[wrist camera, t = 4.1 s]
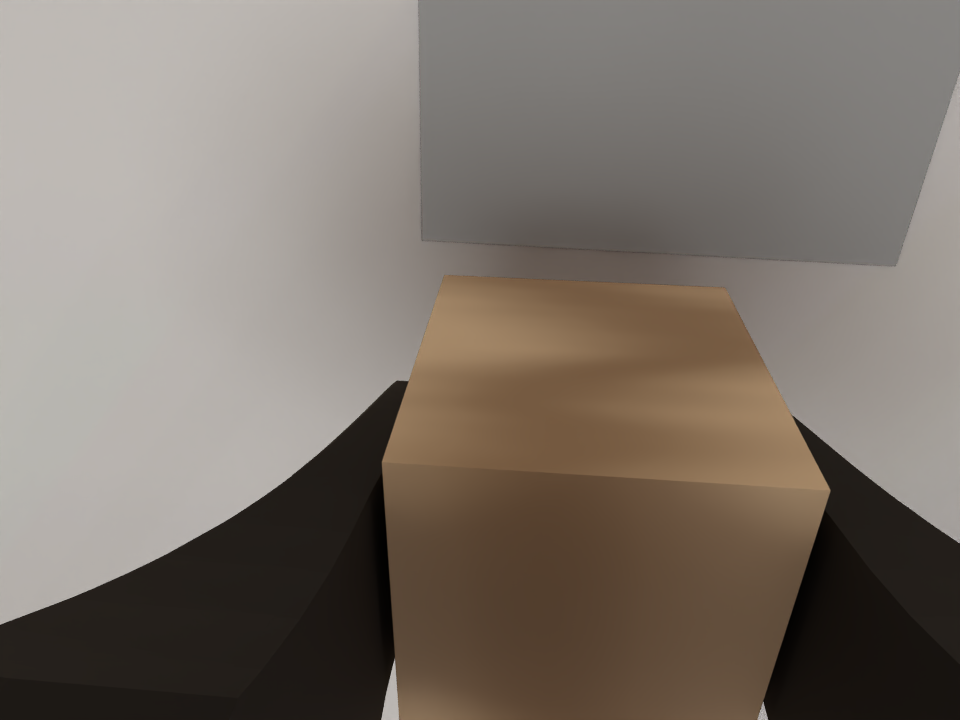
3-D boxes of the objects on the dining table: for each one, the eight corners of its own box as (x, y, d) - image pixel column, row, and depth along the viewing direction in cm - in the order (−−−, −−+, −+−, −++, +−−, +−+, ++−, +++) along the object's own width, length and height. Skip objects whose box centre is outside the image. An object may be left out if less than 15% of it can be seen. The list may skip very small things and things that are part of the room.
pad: (1035, -175, 14) (1041, -178, 14) (892, 263, 18) (895, 266, 18) (416, -186, 15) (415, -187, 14) (423, 237, 19) (421, 240, 19)
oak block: (725, 287, 11) (829, 490, 7) (682, 505, 14) (743, 762, 9) (444, 274, 12) (382, 461, 7) (447, 490, 14) (399, 731, 10)
